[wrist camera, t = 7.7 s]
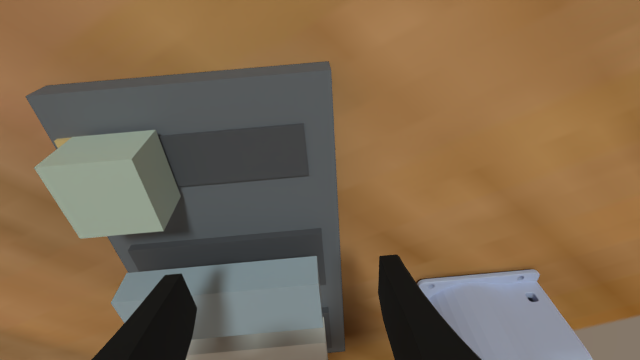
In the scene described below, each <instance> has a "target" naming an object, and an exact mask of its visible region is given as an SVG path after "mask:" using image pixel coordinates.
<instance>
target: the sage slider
mask: <svg viewBox="0 0 640 360" xmlns="http://www.w3.org/2000/svg"><path fill="white" fill-rule="evenodd" d="M34 168H35V170H36V172H37V173H38V175H39V176H40V178H41V179H42V181H43V182H44V184H45V185H46V187H47V188H48V190H49V192H50V193H51V195H52V196H53V198H54V199H55V201H56V202H57V204H58V205H59V207H60V208H61V210H62V212H63V213H64V215H65V216H66V218H67V219H68V221H69V222H70V224H71V225H72V227H73V228H74V230H75V232H76V233H77V235H78V236H79V238H80V239H81V238H92V237H103V236H114V235H125V234H137V233H148V232H159V231H164V230H165V228H166V225H167V223H168V221H169V219H170V217H171V215H172V213H173V211H174V209H175V207H176V205H177V203H178V201H179V199H180V197H181V195H180V193H179V190H178V187H177V185H176V182H175V179H174V177H173V174H172V172H171V169H170V166H169V164H168V161H167V158H166V156H165V153H164V150H163V148H162V145H161V143H160V140H159V137H158V135H157V132H156V130H147V131H135V132H124V133H112V134H101V135H89V136H78V137H72V138H70V139H69V140H68V141H67V142H65V143H64V144H63V145H62V146H60V147H59V148H58V149H57V150H55V151H54V152H53V153H52V154H50V155H49V156H48V157H47V158H45V159H44V160H43V161H42V162H40V163H39V164H38V165H37V166H35V167H34Z"/></svg>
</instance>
